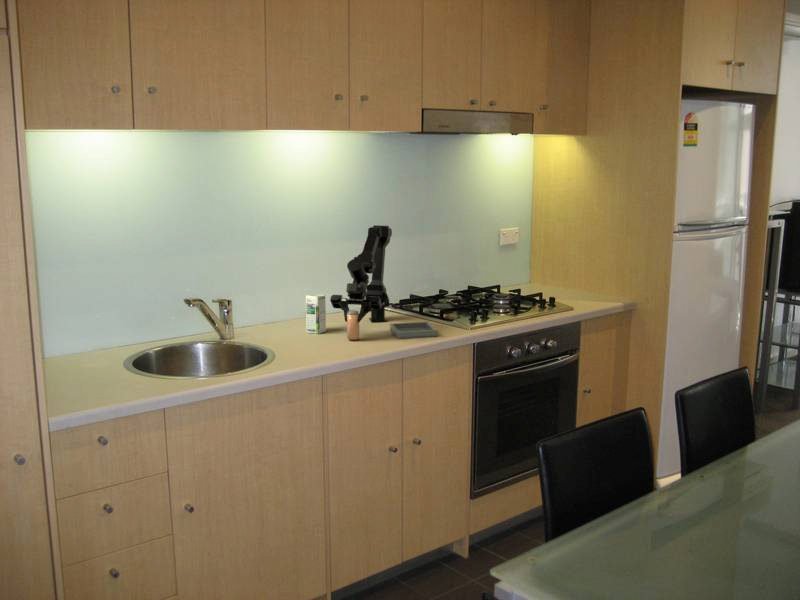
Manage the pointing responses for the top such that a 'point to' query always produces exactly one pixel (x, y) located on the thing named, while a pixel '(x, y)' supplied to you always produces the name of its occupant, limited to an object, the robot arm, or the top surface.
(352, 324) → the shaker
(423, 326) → the tray
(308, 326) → the syrup box
